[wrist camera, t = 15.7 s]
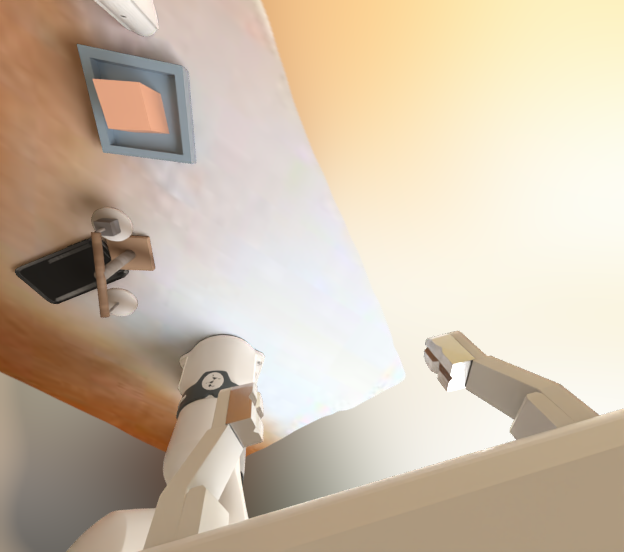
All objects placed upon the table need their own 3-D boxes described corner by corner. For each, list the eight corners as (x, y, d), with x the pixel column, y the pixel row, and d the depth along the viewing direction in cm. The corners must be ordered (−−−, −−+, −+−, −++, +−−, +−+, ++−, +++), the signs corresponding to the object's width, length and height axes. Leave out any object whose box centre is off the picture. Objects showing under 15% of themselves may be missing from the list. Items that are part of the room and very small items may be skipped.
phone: (129, 275, 41) (52, 305, 42) (132, 272, 42) (57, 302, 43) (94, 235, 37) (10, 270, 38) (98, 233, 38) (16, 267, 39)
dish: (196, 163, 36) (191, 163, 34) (113, 152, 33) (103, 152, 31) (188, 71, 31) (182, 65, 29) (91, 51, 28) (76, 43, 26)
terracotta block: (169, 133, 33) (151, 130, 28) (134, 132, 32) (108, 128, 27) (160, 94, 31) (138, 82, 25) (122, 91, 30) (92, 78, 25)
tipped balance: (160, 292, 45) (130, 331, 35) (124, 292, 43) (84, 332, 34) (143, 205, 37) (100, 223, 28) (99, 201, 36) (38, 219, 26)
